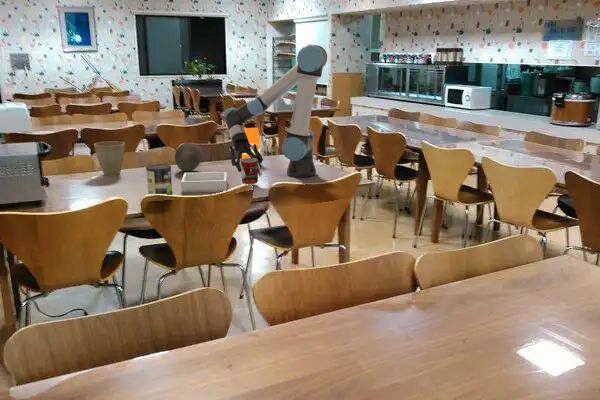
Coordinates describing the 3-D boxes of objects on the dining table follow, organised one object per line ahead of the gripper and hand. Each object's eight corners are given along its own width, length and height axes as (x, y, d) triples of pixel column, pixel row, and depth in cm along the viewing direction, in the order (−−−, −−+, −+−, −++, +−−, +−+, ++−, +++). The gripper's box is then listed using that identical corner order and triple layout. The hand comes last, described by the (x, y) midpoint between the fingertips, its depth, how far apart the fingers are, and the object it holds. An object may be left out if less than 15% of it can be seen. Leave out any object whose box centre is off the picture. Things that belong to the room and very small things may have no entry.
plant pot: (115, 178, 264) (112, 146, 260) (90, 176, 269) (87, 145, 264) (133, 172, 277) (131, 142, 273) (109, 170, 282) (107, 140, 278)
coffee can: (176, 196, 233) (175, 164, 230) (166, 202, 224) (164, 169, 220) (155, 194, 235) (152, 163, 232) (143, 201, 226) (141, 168, 222)
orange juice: (242, 162, 304) (241, 127, 298) (257, 161, 306) (256, 126, 301) (244, 165, 296) (244, 129, 291) (260, 164, 299) (259, 128, 293)
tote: (227, 181, 259) (226, 171, 257) (226, 191, 241) (226, 180, 240) (185, 182, 256) (184, 172, 255) (181, 192, 239) (180, 181, 238)
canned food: (243, 184, 247) (242, 161, 244) (240, 180, 255) (239, 158, 252) (259, 183, 249) (259, 160, 246) (256, 179, 257) (255, 157, 254)
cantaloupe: (170, 173, 275) (168, 144, 271) (182, 168, 288) (181, 140, 284) (195, 175, 272) (194, 146, 268) (207, 169, 285) (205, 141, 281)
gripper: (256, 139, 265) (270, 177, 255) (217, 143, 256) (229, 182, 246) (260, 130, 259) (274, 169, 249) (220, 133, 250) (233, 173, 240)
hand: (252, 175), depth 248 cm, fingers closed on canned food, 8 cm apart
